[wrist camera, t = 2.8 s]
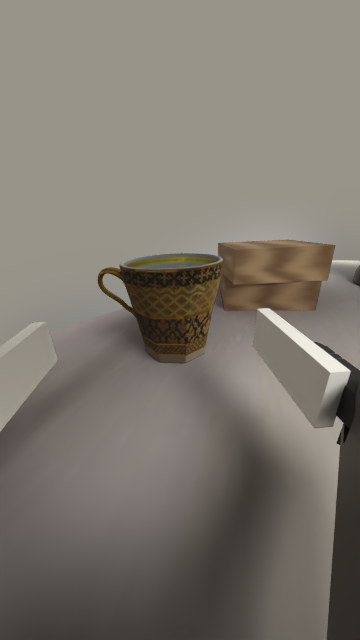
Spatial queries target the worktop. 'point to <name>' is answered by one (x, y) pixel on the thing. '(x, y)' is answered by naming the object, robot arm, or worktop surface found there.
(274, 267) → the tower top block
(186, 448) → the worktop surface
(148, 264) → the ceramic cup
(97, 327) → the worktop surface
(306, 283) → the tower bottom block
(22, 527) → the worktop surface
